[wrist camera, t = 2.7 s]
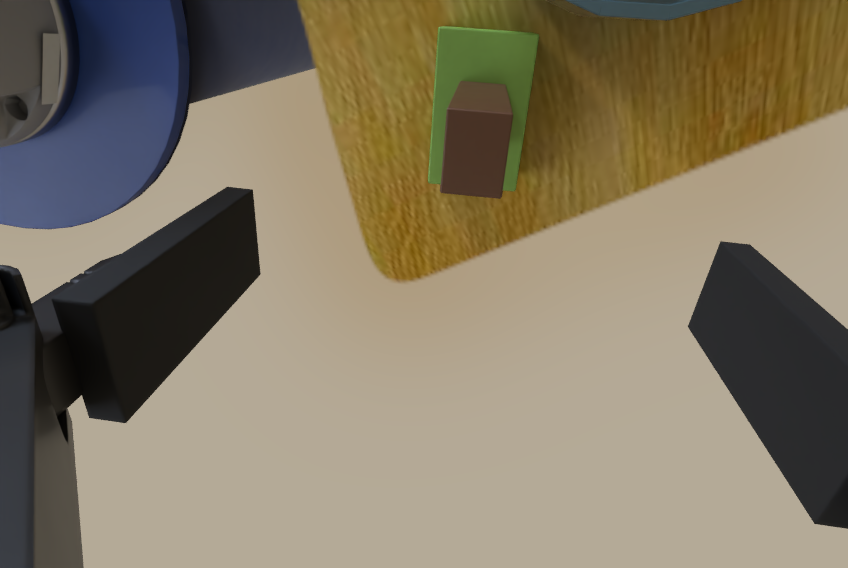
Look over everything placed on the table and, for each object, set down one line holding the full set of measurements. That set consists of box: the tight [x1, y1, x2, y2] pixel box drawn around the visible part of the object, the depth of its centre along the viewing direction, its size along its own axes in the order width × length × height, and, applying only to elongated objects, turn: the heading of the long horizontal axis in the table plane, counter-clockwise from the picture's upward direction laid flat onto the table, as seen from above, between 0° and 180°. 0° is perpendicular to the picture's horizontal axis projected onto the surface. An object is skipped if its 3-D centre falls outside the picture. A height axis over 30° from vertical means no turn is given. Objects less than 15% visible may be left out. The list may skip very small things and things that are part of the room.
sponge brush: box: [428, 26, 539, 199], centre depth 24 cm, size 8×5×12 cm, turn 176°
